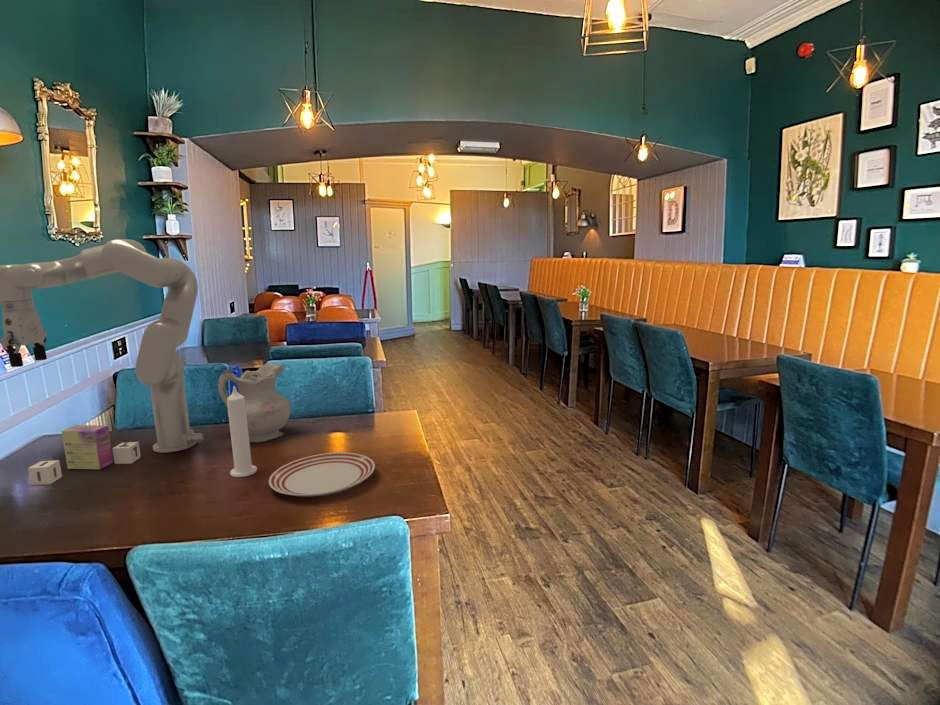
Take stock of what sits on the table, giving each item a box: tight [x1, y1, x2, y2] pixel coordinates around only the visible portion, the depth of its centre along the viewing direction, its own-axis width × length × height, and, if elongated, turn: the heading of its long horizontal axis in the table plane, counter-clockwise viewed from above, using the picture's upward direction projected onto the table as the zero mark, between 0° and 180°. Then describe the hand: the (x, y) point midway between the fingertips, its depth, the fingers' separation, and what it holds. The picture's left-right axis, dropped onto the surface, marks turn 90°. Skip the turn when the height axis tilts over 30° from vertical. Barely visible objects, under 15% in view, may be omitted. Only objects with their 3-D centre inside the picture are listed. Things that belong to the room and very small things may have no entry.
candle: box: [226, 385, 258, 478], centre depth 154 cm, size 7×7×25 cm
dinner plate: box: [268, 451, 376, 497], centre depth 148 cm, size 27×27×3 cm
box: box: [61, 424, 114, 470], centre depth 163 cm, size 10×6×12 cm, turn 84°
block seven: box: [111, 441, 142, 465], centre depth 167 cm, size 5×5×5 cm
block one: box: [27, 459, 63, 486], centre depth 154 cm, size 5×5×5 cm
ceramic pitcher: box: [217, 362, 291, 443], centre depth 183 cm, size 22×20×25 cm
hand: (29, 363), depth 168 cm, fingers open, 9 cm apart
